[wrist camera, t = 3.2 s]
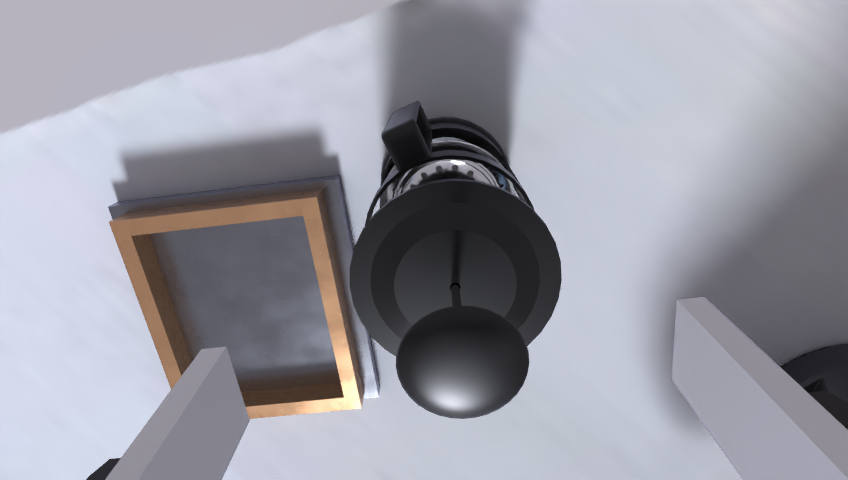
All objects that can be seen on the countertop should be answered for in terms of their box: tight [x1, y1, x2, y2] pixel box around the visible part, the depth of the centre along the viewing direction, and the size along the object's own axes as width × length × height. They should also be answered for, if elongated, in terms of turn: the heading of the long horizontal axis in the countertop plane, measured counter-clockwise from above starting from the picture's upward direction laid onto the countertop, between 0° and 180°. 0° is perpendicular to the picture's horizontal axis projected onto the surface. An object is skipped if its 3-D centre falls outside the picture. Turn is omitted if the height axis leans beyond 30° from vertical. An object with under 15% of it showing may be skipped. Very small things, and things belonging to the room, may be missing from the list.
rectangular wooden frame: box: [108, 175, 380, 419], centre depth 39 cm, size 17×19×3 cm
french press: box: [350, 101, 561, 419], centre depth 26 cm, size 12×9×23 cm
